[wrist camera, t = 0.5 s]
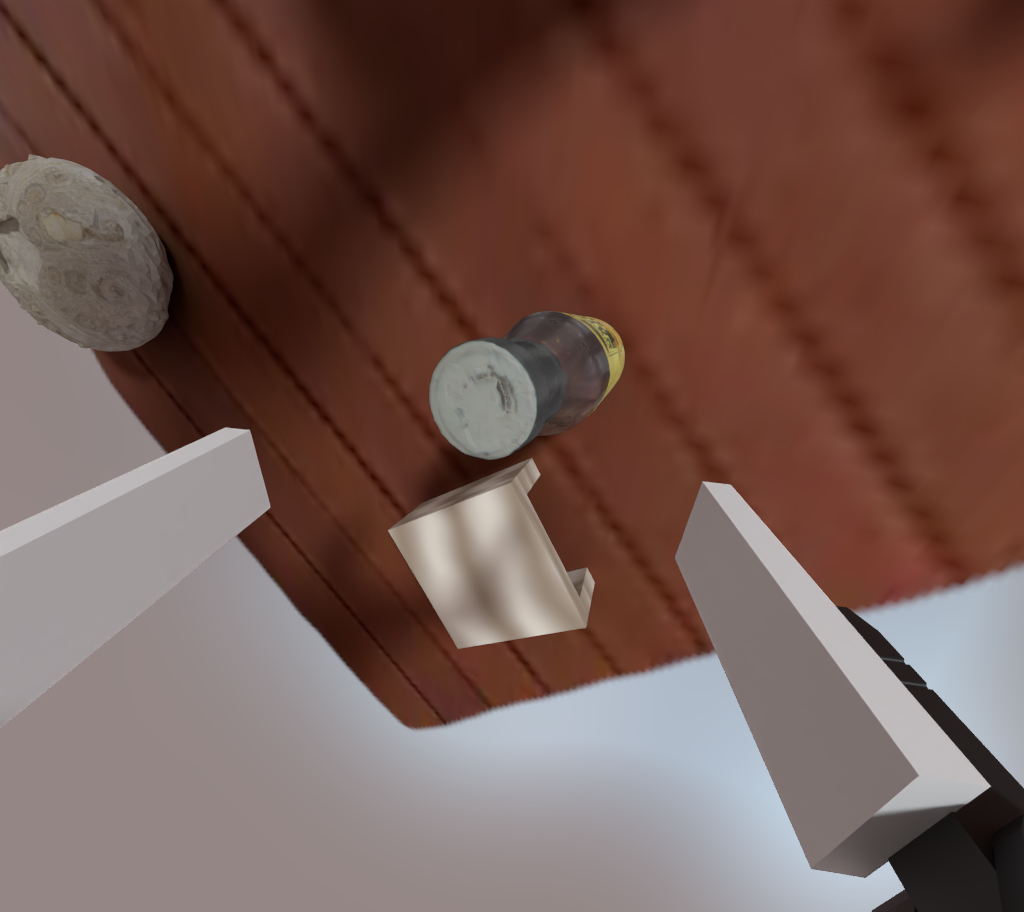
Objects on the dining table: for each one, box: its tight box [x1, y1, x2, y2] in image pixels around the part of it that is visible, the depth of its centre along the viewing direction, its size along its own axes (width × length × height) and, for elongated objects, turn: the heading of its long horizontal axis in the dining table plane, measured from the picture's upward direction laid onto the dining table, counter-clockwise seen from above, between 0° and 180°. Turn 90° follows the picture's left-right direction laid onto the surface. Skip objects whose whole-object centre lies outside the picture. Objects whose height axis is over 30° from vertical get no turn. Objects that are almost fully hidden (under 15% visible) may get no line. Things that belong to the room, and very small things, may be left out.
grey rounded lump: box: [0, 154, 173, 351], centre depth 38 cm, size 18×18×10 cm
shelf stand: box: [388, 458, 595, 649], centre depth 35 cm, size 14×14×6 cm
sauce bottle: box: [429, 311, 625, 460], centre depth 21 cm, size 7×6×20 cm
